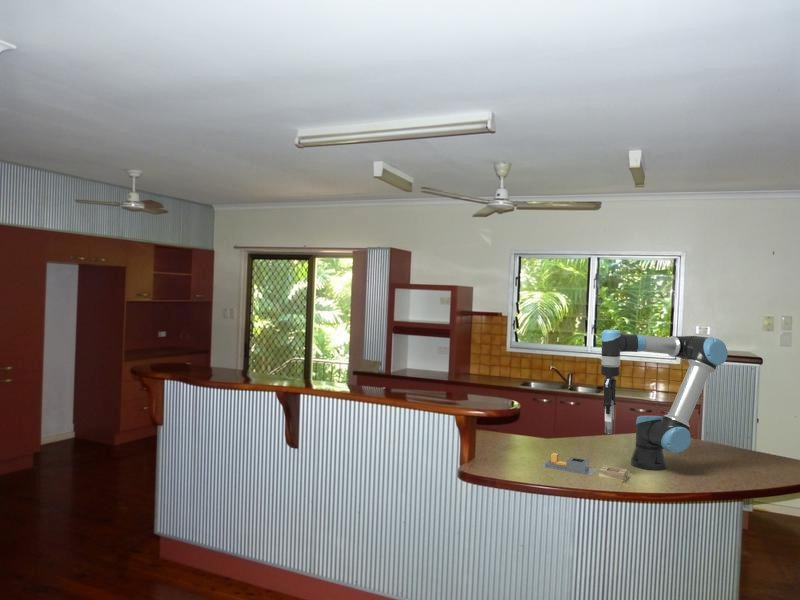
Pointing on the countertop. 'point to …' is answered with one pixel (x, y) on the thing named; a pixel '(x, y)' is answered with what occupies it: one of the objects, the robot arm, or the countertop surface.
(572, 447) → the countertop surface
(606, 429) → the peg
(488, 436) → the countertop surface
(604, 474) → the light wood square frame
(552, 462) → the orange block
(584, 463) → the socket station
